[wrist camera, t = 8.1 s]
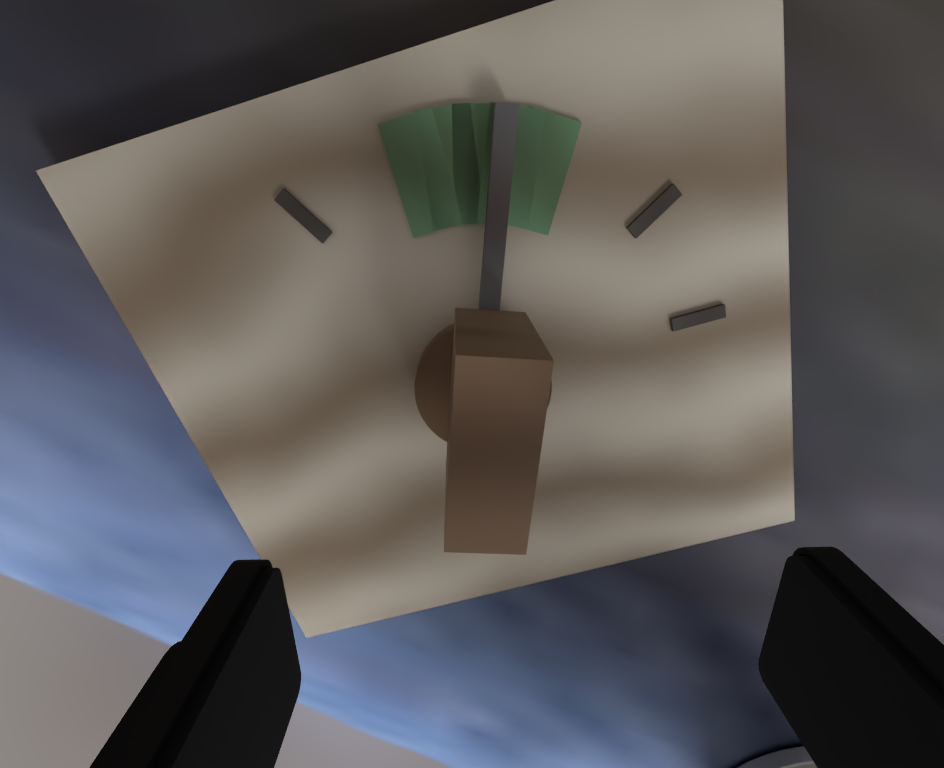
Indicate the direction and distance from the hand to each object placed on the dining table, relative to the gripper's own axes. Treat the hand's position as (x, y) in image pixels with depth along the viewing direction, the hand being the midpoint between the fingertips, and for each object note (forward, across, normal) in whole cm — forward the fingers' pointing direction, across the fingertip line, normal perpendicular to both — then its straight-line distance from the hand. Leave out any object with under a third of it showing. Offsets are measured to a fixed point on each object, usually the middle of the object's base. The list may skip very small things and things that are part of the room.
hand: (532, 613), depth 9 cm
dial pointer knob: (+10, 0, -4) cm, 11 cm away
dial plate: (+12, +1, -1) cm, 12 cm away
